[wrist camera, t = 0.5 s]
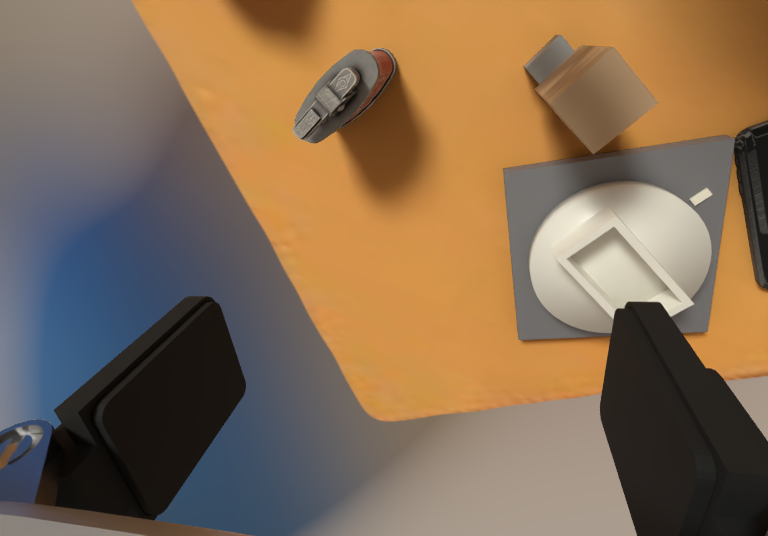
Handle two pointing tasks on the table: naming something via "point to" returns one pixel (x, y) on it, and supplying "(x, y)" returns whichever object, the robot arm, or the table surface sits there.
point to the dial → (618, 253)
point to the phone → (755, 193)
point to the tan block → (589, 90)
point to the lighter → (344, 93)
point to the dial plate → (646, 164)
